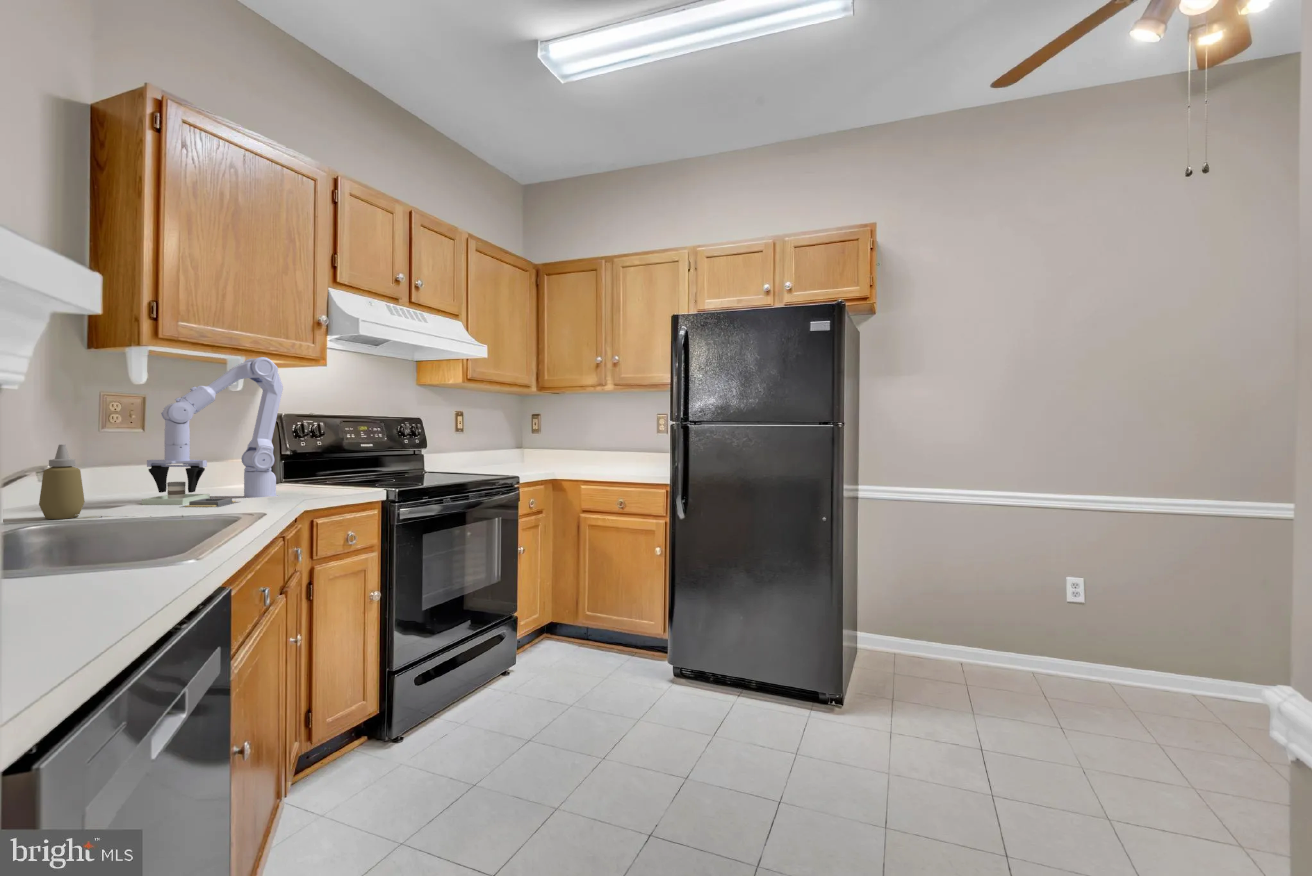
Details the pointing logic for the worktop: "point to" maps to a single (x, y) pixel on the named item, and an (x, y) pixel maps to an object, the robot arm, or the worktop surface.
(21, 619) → the worktop surface
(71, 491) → the squeeze bottle
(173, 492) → the cylinder
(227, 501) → the fuse holder
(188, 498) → the parts tray
